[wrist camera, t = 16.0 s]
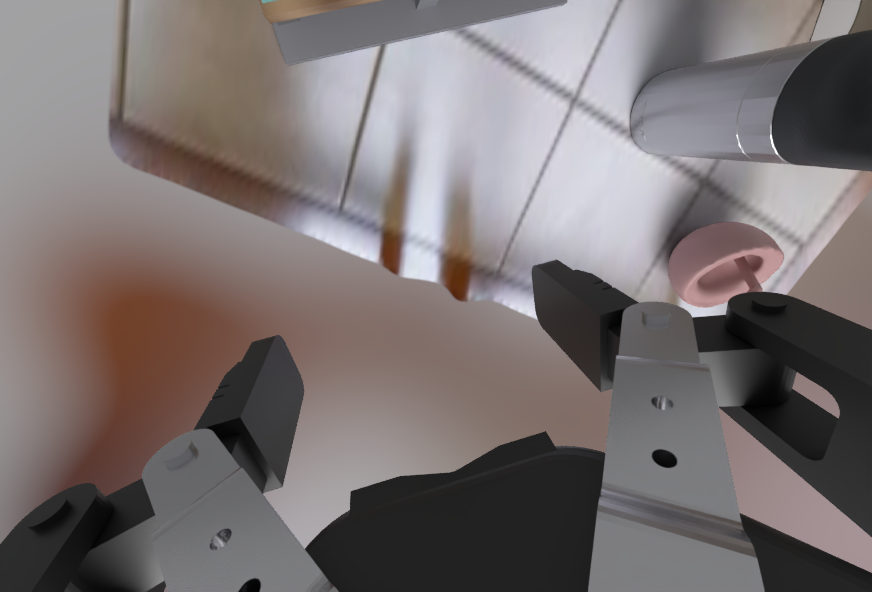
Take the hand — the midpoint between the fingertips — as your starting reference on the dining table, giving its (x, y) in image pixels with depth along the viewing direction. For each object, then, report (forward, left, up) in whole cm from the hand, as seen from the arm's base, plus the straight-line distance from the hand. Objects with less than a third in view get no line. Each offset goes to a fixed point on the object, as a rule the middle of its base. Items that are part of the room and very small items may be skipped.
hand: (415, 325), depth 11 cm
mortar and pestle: (-41, +20, -34) cm, 57 cm away
